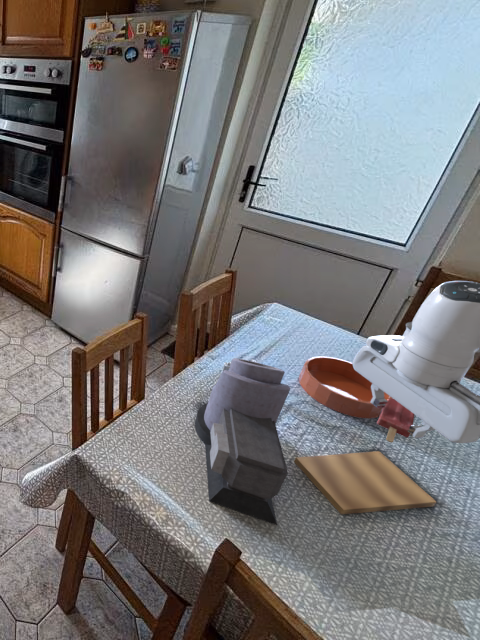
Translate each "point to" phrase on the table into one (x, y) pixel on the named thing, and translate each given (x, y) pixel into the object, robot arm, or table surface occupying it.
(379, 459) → the board
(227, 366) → the lighter
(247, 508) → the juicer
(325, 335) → the table surface
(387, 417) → the popsicle
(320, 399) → the terracotta plant saucer
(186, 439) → the table surface
